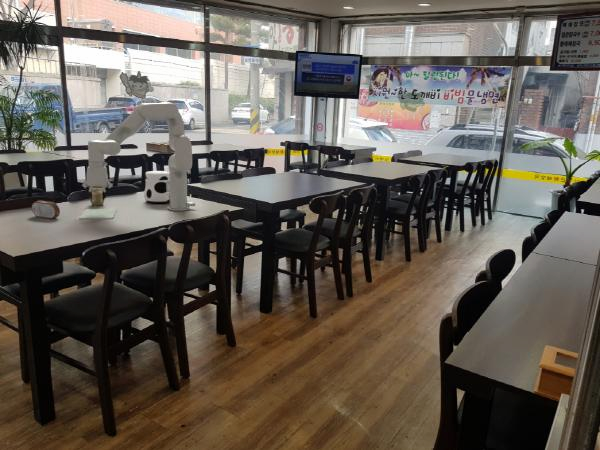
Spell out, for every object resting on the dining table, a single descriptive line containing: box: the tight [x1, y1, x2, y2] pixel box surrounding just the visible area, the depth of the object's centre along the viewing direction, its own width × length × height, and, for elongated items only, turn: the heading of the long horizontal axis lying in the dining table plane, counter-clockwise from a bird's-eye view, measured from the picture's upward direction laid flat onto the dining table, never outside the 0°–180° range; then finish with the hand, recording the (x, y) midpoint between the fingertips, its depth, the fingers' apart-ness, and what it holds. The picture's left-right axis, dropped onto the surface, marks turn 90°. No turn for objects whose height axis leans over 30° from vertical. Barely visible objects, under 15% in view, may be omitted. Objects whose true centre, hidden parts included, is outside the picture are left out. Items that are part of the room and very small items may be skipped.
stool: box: [92, 188, 105, 204], centre depth 253 cm, size 5×5×6 cm
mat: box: [78, 208, 118, 220], centre depth 256 cm, size 16×22×1 cm
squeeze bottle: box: [89, 187, 105, 206], centre depth 276 cm, size 8×8×18 cm
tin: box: [31, 200, 61, 220], centre depth 242 cm, size 15×3×8 cm, turn 74°
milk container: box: [143, 170, 170, 204], centre depth 293 cm, size 17×17×18 cm
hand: (98, 198), depth 254 cm, fingers closed on stool, 5 cm apart
